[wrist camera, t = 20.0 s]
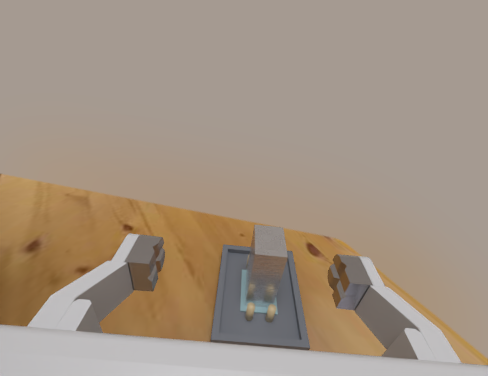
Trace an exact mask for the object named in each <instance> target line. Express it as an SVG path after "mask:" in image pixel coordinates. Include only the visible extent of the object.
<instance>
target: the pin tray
mask: <svg viewBox="0 0 488 376" xmlns="http://www.w3.org/2000/svg"><path fill="white" fill-rule="evenodd" d="M250 248H251V247H243V246H233V245H223V252H222V259H221V267H220V274H219V282H218V289H217V297H216V304H215V312H214V319H213V327H212V335H211V342H214V343H226V344H238V345H250V346H262V347H274V348H286V349H297V350H309V349H310V345H309V340H308V334H307V329H306V324H305V318H304V313H303V307H302V302H301V297H300V291H299V286H298V280H297V275H296V270H295V264H294V259H293V253H292V251H287V255H288V258H287V262H286V265H285V268H284V272H283V275H282V278H281V282H280V285H279V288H278V291H277V295H276V298H275V301H274V305H273V304H270V305H269V307H258V306H255V304H254V303H252V302H250V303H248V305H245V288H246V271H247V265H248V259H249V254H250Z"/></svg>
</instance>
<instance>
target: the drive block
mask: <svg viewBox="0 0 488 376" xmlns="http://www.w3.org/2000/svg"><path fill="white" fill-rule="evenodd" d="M287 258H288V255H287V249H286V243H285V237H284V230H283V228H281V227H271V226H262V225H255V226H254V231H253V237H252V243H251V248H250V254H249V259H248V265H247V271H246V288H245V305H248V303H250V302H252V303H254V304H255V306H258V307H269V305H270V304H273V305H274V301H275V298H276V295H277V291H278V288H279V285H280V282H281V278H282V275H283V272H284V268H285V265H286V262H287Z"/></svg>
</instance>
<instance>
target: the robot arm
mask: <svg viewBox="0 0 488 376" xmlns="http://www.w3.org/2000/svg"><path fill="white" fill-rule="evenodd" d="M163 244H164V241H163V238H162V237H155V236H147V235H138V234H128V235H127V236H126V238H125V239H124V241H123V243H122V244H121V246H120V247H119V249H118V251H117V252H116V254H115V255H114V257H113V259H112V260H111V261H106V262H105V263H103V264H101V265H100V266H98V267H97V268H95V269H93V270H92V271H90V272H88V273H87V274H85V275H83V276H82V277H80V278H79V279H77V280H75V281H74V282H72V283H70V284H69V285H67V286H65V287H64V288H62V289H61V290H59V291H57V292H56V293H54V294H52V295H51V296H50V297H49V299H48V300H47V301H46V302H45V304H44V305H43V306H42V308H41V309H40V310H39V312H38V313H37V314H36V315H35V317H34V318H33V319H32V321H31V322H30V323H29V325H28V326H27V327H25V326H13V325H1V324H0V376H488V365H476V364H464V363H461V361H460V360H459V358H458V356H457V355H456V353H455V352H454V350H453V349H452V347H451V345H450V344H449V342H448V341H447V339H446V337H445V336H444V334H443V333H442V331H441V330H440V329H439V328H437V327H436V326H435V325H434V324H433V323H431V322H430V321H429V320H428V319H426V318H425V317H424V316H423V315H422V314H420V313H419V312H418V311H417V310H416V309H414V308H413V307H412V306H411V305H409V304H408V303H407V302H406V301H405V300H403V299H402V298H401V297H400V296H398V295H397V294H396V293H395V292H394V291H392V290H391V289H390V288H389V287H385V285H384V284H383V282H382V280H381V278H380V276H379V274H378V272H377V270H376V268H375V267H374V265H373V263H372V261H371V259H370V258H369V257H360V256H349V255H338V254H337V255H335V256H334V258H333V262H334V264H333V265H331V266H330V268H329V270H328V282H329V286H330V287H331V288H332V289H333V290H334V292H333V294H332V295H333V299H334V302H335V305H336V308H340V309H348V310H355V312H356V314H357V315H358V316H359V317H360V318H361V319H362V321H363V322H364V323H365V324H366V325H367V327H368V328H369V329H370V330H371V331H372V333H373V334H374V335H375V336H376V337H377V339H378V340H379V341H380V342H381V343H382V345H383V346H384V347H385V348H386V349H387V350H386V351H385V352H384V354H383V355H382V356H369V355H357V354H345V353H333V352H321V351H309V350H297V349H286V348H274V347H262V346H250V345H238V344H226V343H214V342H202V341H190V340H178V339H166V338H154V337H142V336H131V335H119V334H107V333H103V332H102V330H101V327H100V324H99V322H100V321H101V320H103V319H104V318H105V317H106V316H107V315H108V314H109V313H110V312H111V311H112V310H114V309H115V308H116V307H117V306H118V305H119V304H120V303H121V302H122V301H123V300H125V299H126V298H127V297H128V296H129V295H130V294H131V293H132V292H133V290H138V291H153V290H154V288H155V285H156V282H157V280H158V274H157V273H158V272H160V271H161V269H162V267H163V263H164V258H165V251H164V249H163V248H162V246H163Z"/></svg>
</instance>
